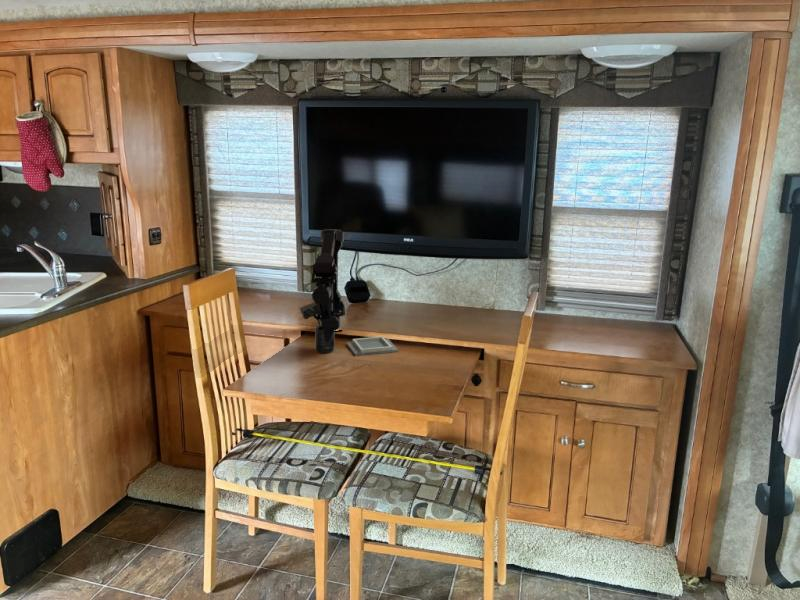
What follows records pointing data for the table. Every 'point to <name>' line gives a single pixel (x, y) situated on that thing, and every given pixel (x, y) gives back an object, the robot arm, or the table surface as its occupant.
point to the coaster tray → (371, 346)
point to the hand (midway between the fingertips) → (324, 338)
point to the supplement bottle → (323, 341)
